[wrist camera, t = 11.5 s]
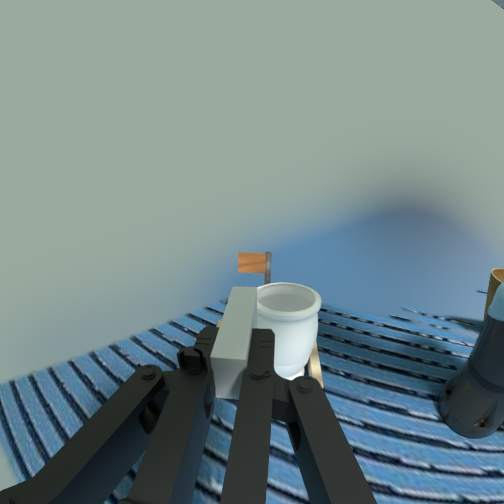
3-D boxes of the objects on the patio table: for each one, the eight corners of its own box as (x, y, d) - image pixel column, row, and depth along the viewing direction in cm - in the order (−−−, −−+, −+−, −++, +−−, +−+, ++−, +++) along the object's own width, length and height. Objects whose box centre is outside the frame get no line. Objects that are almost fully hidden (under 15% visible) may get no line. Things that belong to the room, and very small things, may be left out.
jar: (253, 395, 40) (255, 318, 35) (245, 355, 49) (245, 283, 44) (317, 386, 41) (333, 311, 36) (300, 349, 51) (309, 279, 46)
